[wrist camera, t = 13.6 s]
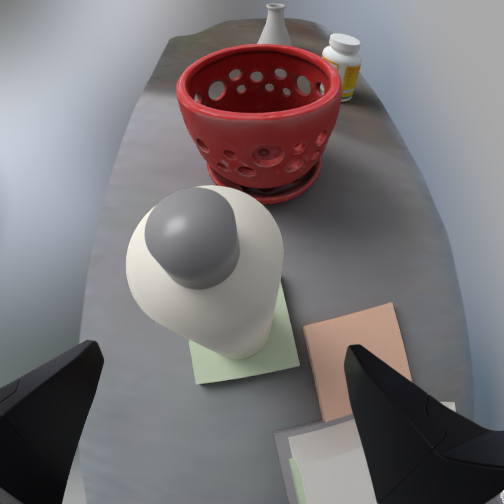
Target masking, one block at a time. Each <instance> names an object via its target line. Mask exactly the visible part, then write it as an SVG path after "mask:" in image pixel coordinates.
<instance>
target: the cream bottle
mask: <svg viewBox="0 0 504 504" xmlns="http://www.w3.org/2000/svg"><path fill="white" fill-rule="evenodd" d="M283 260H284V247H283V241H282V236H281V233H280V230H279V227H278V225H277V223H276V222H275V220H274V218H273V217H272V215H271V214H270V212H269V211H268V210H267V209H266V208H265V207H264V206H263V205H262V204H261V203H260V202H258V201H257V200H256V199H255V198H253V197H251V196H250V195H248V194H246V193H244V192H241V191H239V190H236V189H233V188H229V187H223V186H212V185H211V186H199V187H191V188H185V189H181V190H178V191H176V192H173V193H171V194H169V195H168V196H166V197H165V198H164V199H162V200H161V201H160V202H159V203H158V204H157V205H156V206H154V207H153V208H152V209H151V210H150V211H149V212H148V213H147V214H146V215H145V216H144V218H143V219H142V220H141V222H140V223H139V225H138V226H137V228H136V230H135V231H134V234H133V236H132V238H131V240H130V244H129V247H128V251H127V257H126V274H127V280H128V284H129V287H130V290H131V293H132V295H133V297H134V298H135V300H136V302H137V303H138V305H139V306H140V307H141V309H142V310H143V311H144V312H145V313H146V314H147V315H148V316H149V317H150V318H151V319H153V320H154V321H156V322H157V323H158V324H160V325H162V326H164V327H166V328H168V329H170V330H172V331H174V332H175V333H177V334H179V335H181V336H183V337H185V338H187V339H189V340H191V341H193V342H195V343H197V344H199V345H201V346H203V347H205V348H208V349H210V350H212V351H214V352H216V353H218V354H220V355H223V356H225V357H227V358H231V359H245V358H249V357H251V356H253V355H255V354H257V353H258V352H259V351H260V350H261V349H262V348H263V347H264V346H265V344H266V343H267V341H268V338H269V335H270V330H271V325H272V320H273V315H274V310H275V305H276V300H277V295H278V290H279V284H280V279H281V274H282V268H283Z"/></svg>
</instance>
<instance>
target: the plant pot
mask: <svg viewBox="0 0 504 504" xmlns="http://www.w3.org/2000/svg"><path fill="white" fill-rule="evenodd" d="M278 68H279V69H283V70H285V71H286V73H287V76H286V77H284V78H280V77H278V76H276V74H275V69H278ZM235 69H238V70H240V76H239V77H237V78H235V79H230V77H229V73H230V72H231V71H232V70H235ZM255 71H258V72H261V73H262V75H263V77H262V79H261V80H259V81H254V80H252V79H251V78H250V75H251V74H252V73H253V72H255ZM299 76H304V77H306V78H307V80H308V81H309V83H310V87H311V92H310V94H308V95H306V94H304V93H303V92H301V90H300V89H299V88H298V86H297V79H298V77H299ZM216 81H221V82H222V83H223V84H224V91H223V93H222V95H221V96H220V97H218V98H217V99H211V98H210V97H209V95H208V91H209V87H210V85H211V84H212V83H214V82H216ZM268 83H269V84H272V85H273V86H274V89H273V90H272V91H268V90H266V89H265V85H266V84H268ZM321 84H322V85H323V87H324V94H322V92H321V89H320V86H321ZM239 85H245V90H244V91H242V92H238V91H237V87H238V86H239ZM283 88H288V89H289V90H290V91H291V94H290V95H285V94H284V93H283ZM176 94H177V99H178V102H179V106H180V110H181V113H182V116H183V119H184V122H185V124H186V127H187V129H188V131H189V134H190V135H191V137H192V139H193V141H194V142H195V144H196V146H197V148H198V149H199V151H200V153H201V155H202V156H203V158H204V159H205V160H206V161H207V168H208V172H209V174H210V176H211V178H212V180H213V181H214V183H215V184H216V185H217V186H223V187H229V188H233V189H236V190H239V191H241V192H244V193H246V194H248V195H250V196H251V197H253V198H255V199H256V200H257V201H258V202H260V203H261V204H275V203H281V202H284V201H288V200H291V199H293V198H295V197H297V196H299V195H300V194H302V193H303V192H305V191H306V190H307V189H308V188H309V187H310V186H311V185H312V184H313V183H314V181H315V180H316V179H317V177H318V175H319V173H320V169H321V155H322V153H323V152H324V150H325V148H326V145H327V142H328V139H329V137H330V135H331V132H332V130H333V128H334V126H335V123H336V120H337V117H338V113H339V109H340V103H341V95H342V81H341V78H340V75H339V73H338V72H337V70H336V69H335V68H334V67H333V66H332V65H331V64H330V63H329V62H328V61H326V60H325V59H323V58H321V57H320V56H318V55H316V54H314V53H311V52H309V51H306V50H303V49H300V48H296V47H292V46H286V45H277V44H250V45H241V46H235V47H230V48H226V49H223V50H219V51H217V52H214V53H211V54H209V55H207V56H205V57H203V58H201V59H199V60H198V61H196V62H195V63H193V64H192V65H190V66H189V67H188V68H187V69H186V70H185V71H184V73H183V74H182V75H181V77H180V78H179V80H178V83H177V87H176ZM195 94H197V102H196V101H195V100H194V97H195ZM204 105H205V106H204Z"/></svg>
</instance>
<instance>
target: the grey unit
mask: <svg viewBox="0 0 504 504" xmlns="http://www.w3.org/2000/svg"><path fill="white" fill-rule="evenodd" d="M440 403H442V404H443V405H445V406H446V407H448V408H450V409H451V410H453V411H455V412H456V409H455V402H440ZM273 433H274V438H275V443H276V447H277V452H278V456H279V461H280V465H281V470H282V474H283V479H284V483H285V487H286V492H287V496H288V500H289V504H377V502H376V497H375V493H374V489H373V485H372V481H371V477H370V473H369V470H368V466H367V462H366V458H365V455H364V451H363V447H362V444H361V440H360V437H359V433H358V430H357V426H356V423H355V419H354V416H353V414H350V415H347V416H344V417H340V418H337V419H334V420H331V421H327V422H325V421H323V420H321V421H317V422H314V423H310V424H306V425H302V426H298V427H294V428H289V429H285V430H280V431H275V432H273Z"/></svg>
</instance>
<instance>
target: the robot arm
mask: <svg viewBox="0 0 504 504" xmlns="http://www.w3.org/2000/svg"><path fill="white" fill-rule="evenodd" d="M103 364H104V358H103V355H102V352H101V350H100V347H99V345H98V343H97V342H96V341H92V340H86V341H84V342H82V343H81V344H79V345H77V346H75V347H73V348H72V349H70V350H68V351H66V352H65V353H63V354H61V355H59V356H57V357H56V358H54V359H52V360H50V361H49V362H47V363H45V364H43V365H41V366H40V367H38V368H36V369H34V370H33V371H31V372H29V373H27V374H25V375H24V376H22V377H21V378H18V379H17V380H15V381H13V382H11V383H9V384H7V385H6V386H4V387H2V388H0V504H62V501H63V497H64V492H65V488H66V484H67V482H66V481H67V480H68V476H69V473H70V469H71V465H72V462H73V459H74V455H75V452H76V449H77V446H78V443H79V439H80V436H81V433H82V430H83V427H84V424H85V422H86V419H87V416H88V413H89V410H90V408H91V405H92V402H93V399H94V396H95V393H96V390H97V386H98V382H99V379H100V375H101V371H102V368H103ZM344 372H345V377H346V383H347V388H348V394H349V400H350V405H351V409H352V412H353V416H354V419H355V423H356V426H357V430H358V433H359V437H360V440H361V444H362V447H363V451H364V455H365V458H366V462H367V466H368V470H369V473H370V477H371V481H372V485H373V489H374V493H375V497H376V502H377V504H504V431H493V430H489V429H486V428H483V427H481V426H480V425H478V424H476V423H474V422H472V421H470V420H469V419H467V418H465V417H463V416H461V415H460V414H458V413H456V412H455V411H453V410H451V409H450V408H448V407H446V406H445V405H443V404H442V403H440V402H439V401H437V400H436V399H435V398H433V397H432V396H430V395H428V394H427V393H426V392H425V391H423V390H422V389H421V388H419V387H418V386H417V385H415V384H414V383H412V382H411V381H410V380H408V379H407V378H406V377H404V376H403V375H401V374H400V373H399V372H397V371H396V370H395V369H393V368H392V367H391V366H389V365H388V364H386V363H385V362H384V361H382V360H381V359H380V358H378V357H377V356H376V355H374V354H373V353H371V352H370V351H369V350H367V349H366V348H365V347H363V346H362V345H360V344H354V345H349V346H348V348H347V351H346V356H345V360H344Z"/></svg>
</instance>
